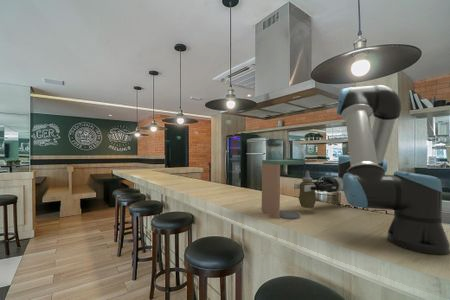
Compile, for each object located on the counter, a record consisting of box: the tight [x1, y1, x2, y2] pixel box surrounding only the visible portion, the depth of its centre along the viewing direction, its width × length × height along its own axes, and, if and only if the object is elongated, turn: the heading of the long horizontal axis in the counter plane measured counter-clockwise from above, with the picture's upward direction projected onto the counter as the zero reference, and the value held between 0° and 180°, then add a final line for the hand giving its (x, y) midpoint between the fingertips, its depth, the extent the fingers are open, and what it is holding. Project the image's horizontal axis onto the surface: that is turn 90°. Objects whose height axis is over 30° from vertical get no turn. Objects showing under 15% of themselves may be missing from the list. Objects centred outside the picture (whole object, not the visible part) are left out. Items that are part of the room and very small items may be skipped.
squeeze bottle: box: [298, 170, 317, 209], centre depth 108 cm, size 8×8×18 cm
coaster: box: [280, 209, 301, 220], centre depth 102 cm, size 12×12×1 cm
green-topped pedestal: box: [261, 157, 306, 220], centre depth 105 cm, size 12×16×26 cm
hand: (299, 187), depth 106 cm, fingers closed on squeeze bottle, 6 cm apart
